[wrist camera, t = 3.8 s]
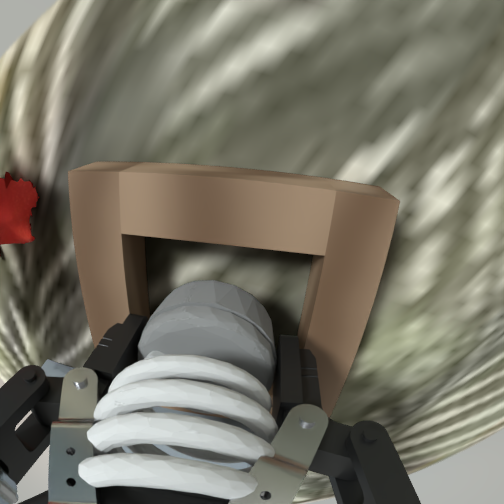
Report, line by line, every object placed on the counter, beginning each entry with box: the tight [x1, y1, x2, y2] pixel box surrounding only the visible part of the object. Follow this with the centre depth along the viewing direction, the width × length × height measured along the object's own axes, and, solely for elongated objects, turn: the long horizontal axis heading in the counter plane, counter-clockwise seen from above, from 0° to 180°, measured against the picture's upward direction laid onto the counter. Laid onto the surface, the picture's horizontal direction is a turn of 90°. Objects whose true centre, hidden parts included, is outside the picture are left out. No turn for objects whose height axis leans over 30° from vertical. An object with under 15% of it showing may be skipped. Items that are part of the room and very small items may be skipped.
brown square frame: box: [68, 162, 400, 419], centre depth 15 cm, size 13×13×2 cm
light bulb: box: [78, 280, 278, 500], centre depth 10 cm, size 6×6×12 cm
